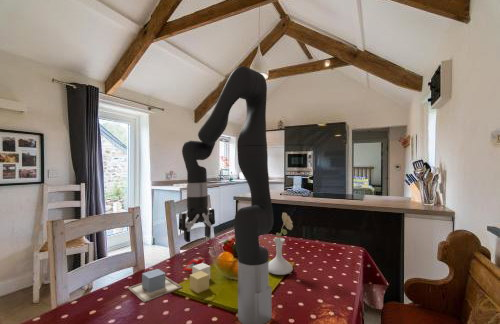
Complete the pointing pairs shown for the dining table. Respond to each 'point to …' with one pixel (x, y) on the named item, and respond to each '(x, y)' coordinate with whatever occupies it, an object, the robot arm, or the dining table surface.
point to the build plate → (147, 296)
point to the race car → (193, 264)
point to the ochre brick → (199, 281)
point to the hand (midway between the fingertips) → (197, 239)
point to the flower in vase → (279, 263)
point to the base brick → (153, 280)
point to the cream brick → (201, 268)
